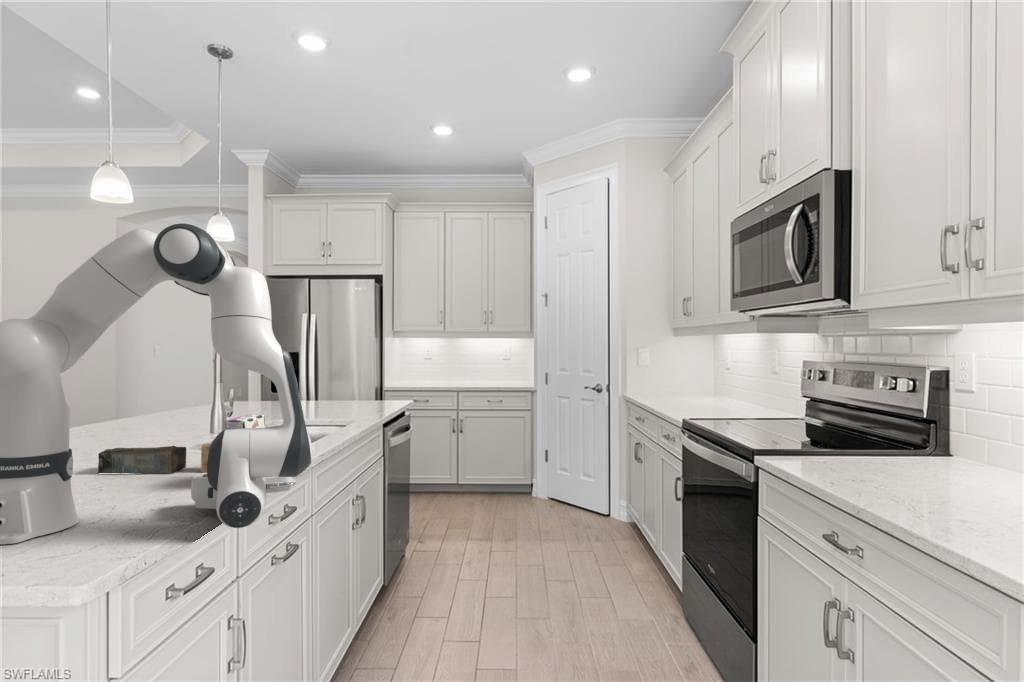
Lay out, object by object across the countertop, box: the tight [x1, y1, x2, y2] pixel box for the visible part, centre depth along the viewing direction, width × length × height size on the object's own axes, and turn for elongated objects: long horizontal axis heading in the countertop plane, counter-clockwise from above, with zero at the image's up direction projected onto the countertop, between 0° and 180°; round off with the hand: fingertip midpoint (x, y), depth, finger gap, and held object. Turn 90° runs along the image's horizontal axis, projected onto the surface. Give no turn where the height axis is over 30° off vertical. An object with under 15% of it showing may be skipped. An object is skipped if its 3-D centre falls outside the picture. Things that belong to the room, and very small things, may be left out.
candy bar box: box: [225, 413, 266, 430], centre depth 144 cm, size 11×5×16 cm, turn 179°
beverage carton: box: [97, 445, 187, 475], centre depth 156 cm, size 8×19×7 cm, turn 94°
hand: (244, 474), depth 132 cm, fingers closed
